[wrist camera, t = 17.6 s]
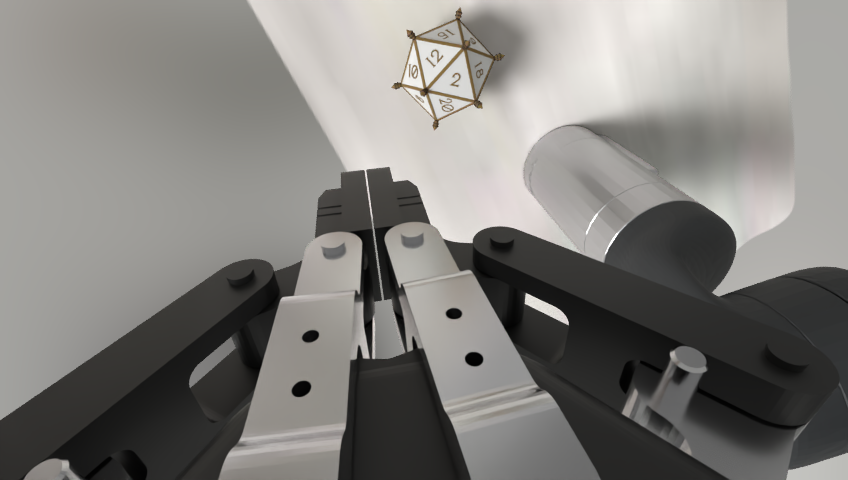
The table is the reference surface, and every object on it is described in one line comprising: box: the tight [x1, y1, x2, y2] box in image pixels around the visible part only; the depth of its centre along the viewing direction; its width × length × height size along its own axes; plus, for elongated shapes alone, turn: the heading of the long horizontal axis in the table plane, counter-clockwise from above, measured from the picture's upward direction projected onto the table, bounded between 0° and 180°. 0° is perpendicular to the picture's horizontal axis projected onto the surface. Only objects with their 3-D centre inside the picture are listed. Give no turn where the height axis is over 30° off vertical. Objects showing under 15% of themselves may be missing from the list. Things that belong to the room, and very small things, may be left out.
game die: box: [391, 8, 505, 130], centre depth 36 cm, size 9×8×10 cm
